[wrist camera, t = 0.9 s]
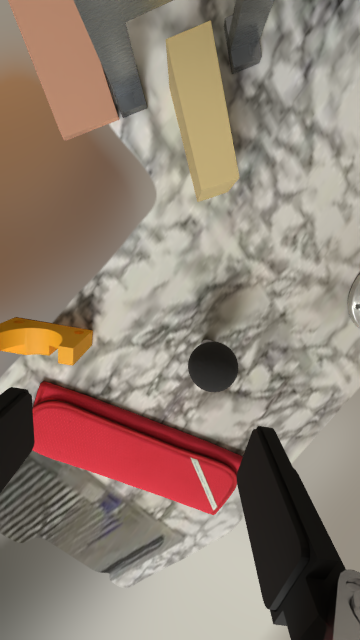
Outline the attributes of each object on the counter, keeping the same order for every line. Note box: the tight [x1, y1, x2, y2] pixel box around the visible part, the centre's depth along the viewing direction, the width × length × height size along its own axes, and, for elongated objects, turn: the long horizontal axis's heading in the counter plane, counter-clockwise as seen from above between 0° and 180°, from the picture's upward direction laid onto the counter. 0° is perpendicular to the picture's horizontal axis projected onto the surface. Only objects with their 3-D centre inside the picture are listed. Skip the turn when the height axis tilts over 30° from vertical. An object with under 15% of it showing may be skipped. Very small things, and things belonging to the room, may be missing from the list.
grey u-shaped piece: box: [74, 0, 274, 118], centre depth 18 cm, size 16×4×12 cm, turn 107°
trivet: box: [8, 0, 119, 141], centre depth 23 cm, size 7×14×1 cm, turn 17°
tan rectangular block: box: [166, 20, 239, 202], centre depth 23 cm, size 4×12×6 cm, turn 17°
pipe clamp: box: [0, 317, 93, 365], centre depth 31 cm, size 12×4×6 cm, turn 80°
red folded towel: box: [32, 381, 243, 515], centre depth 40 cm, size 16×41×4 cm, turn 64°
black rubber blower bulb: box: [188, 340, 238, 392], centre depth 29 cm, size 6×6×10 cm
